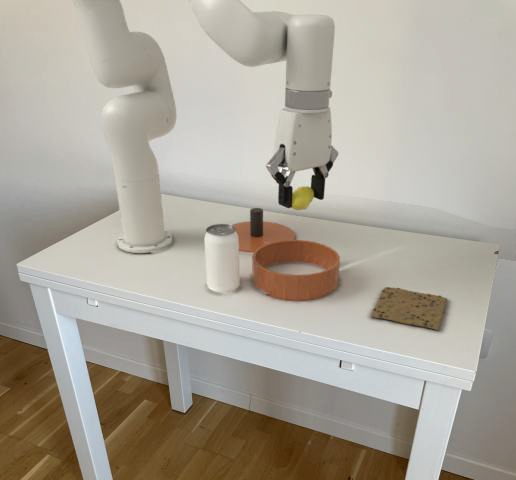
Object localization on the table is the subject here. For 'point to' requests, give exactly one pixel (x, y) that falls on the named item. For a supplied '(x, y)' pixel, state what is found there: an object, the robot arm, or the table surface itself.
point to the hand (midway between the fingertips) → (301, 201)
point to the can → (222, 257)
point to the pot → (295, 284)
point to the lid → (260, 232)
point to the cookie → (410, 307)
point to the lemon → (302, 197)
